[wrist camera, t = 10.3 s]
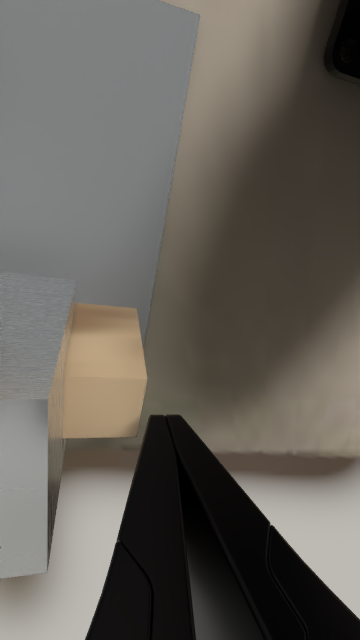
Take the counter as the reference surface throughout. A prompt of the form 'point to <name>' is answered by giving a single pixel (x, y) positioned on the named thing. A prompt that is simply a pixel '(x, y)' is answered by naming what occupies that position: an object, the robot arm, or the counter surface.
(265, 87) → the counter surface
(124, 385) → the block
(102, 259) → the mat
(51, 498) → the rough concrete cube
